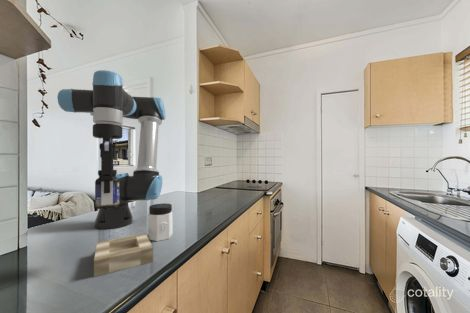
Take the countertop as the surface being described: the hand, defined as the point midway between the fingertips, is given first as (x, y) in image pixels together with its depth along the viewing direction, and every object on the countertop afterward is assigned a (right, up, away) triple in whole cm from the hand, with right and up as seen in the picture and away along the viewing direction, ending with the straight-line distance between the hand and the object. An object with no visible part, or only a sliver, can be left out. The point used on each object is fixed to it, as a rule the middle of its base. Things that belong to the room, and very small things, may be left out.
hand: (107, 202), depth 60 cm
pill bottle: (0, -2, 0) cm, 2 cm away
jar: (+9, -18, +18) cm, 27 cm away
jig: (+4, -17, +2) cm, 18 cm away
